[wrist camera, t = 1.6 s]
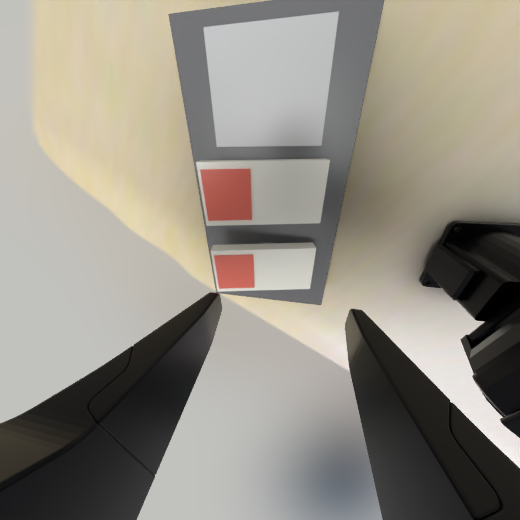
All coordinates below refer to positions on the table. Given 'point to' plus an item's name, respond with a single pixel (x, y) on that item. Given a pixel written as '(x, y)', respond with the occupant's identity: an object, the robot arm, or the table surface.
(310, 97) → the rocker switch panel
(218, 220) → the rocker
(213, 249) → the rocker
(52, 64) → the table surface
